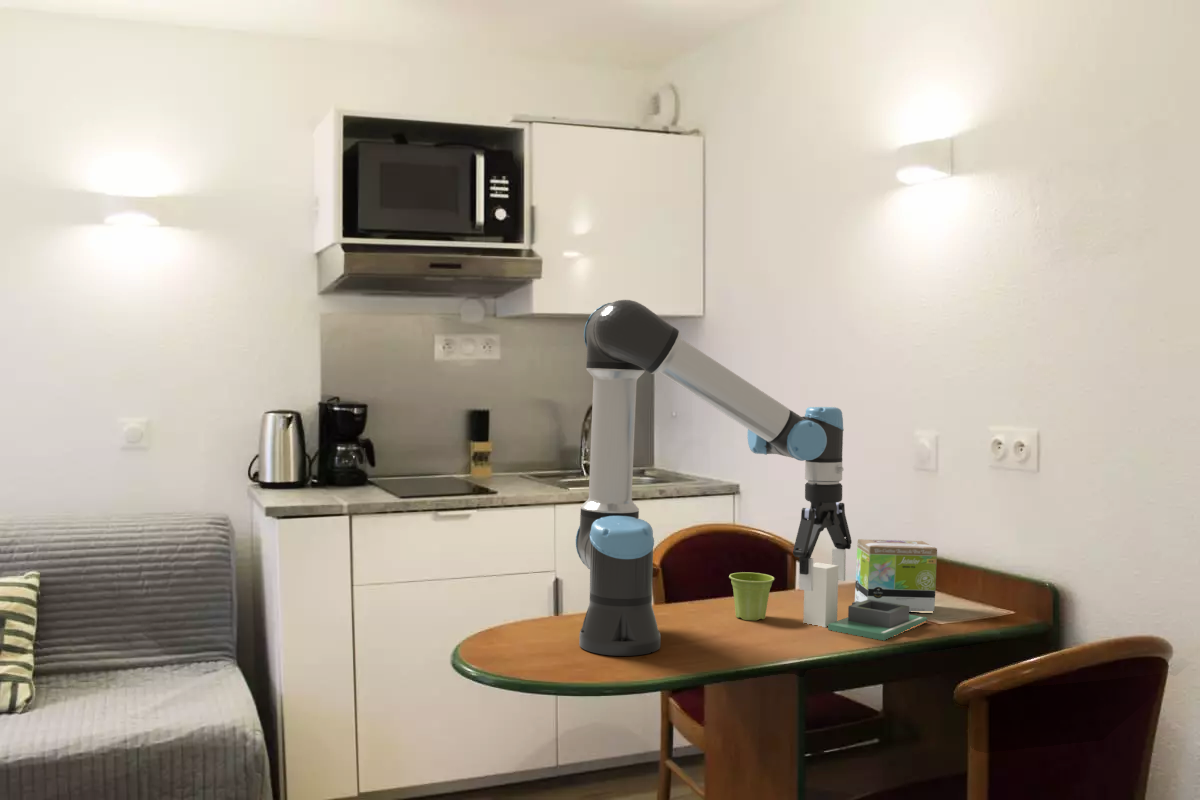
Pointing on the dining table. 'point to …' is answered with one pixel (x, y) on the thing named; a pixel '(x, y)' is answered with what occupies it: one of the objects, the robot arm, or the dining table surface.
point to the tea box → (896, 573)
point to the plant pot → (751, 594)
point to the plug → (822, 596)
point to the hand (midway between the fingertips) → (822, 584)
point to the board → (876, 620)
